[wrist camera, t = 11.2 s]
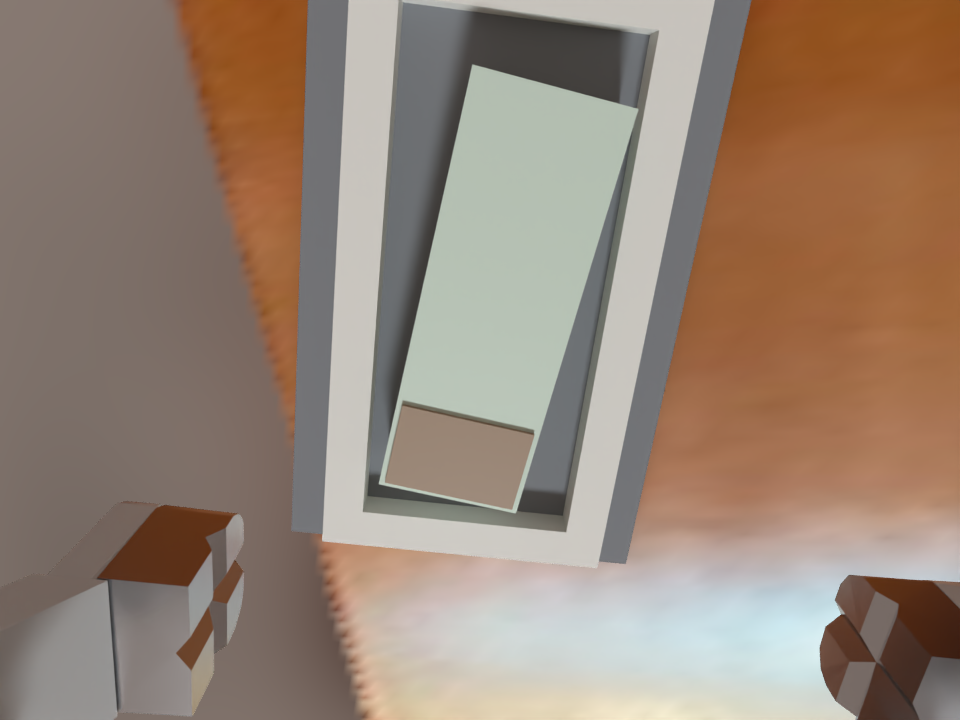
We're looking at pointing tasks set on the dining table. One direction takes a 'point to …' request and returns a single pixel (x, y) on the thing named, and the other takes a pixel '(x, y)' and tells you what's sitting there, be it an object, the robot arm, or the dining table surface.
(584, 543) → the picture frame
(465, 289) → the pale green rectangular block
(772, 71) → the dining table surface
